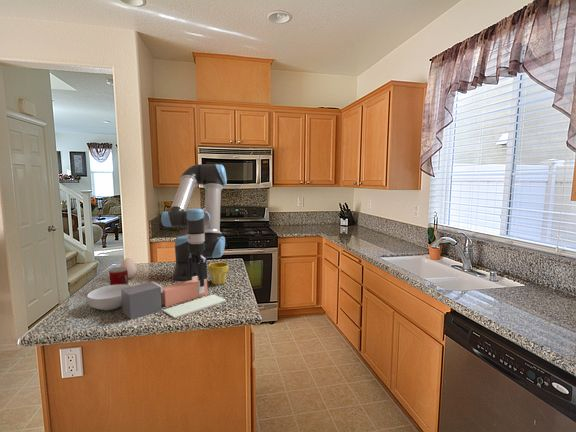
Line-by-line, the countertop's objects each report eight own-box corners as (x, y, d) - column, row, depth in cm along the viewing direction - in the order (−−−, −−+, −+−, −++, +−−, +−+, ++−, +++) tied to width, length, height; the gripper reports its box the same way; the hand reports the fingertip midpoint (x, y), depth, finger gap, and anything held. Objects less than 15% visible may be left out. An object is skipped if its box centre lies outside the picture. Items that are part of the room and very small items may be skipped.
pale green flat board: (213, 295, 144) (213, 294, 144) (226, 301, 137) (226, 299, 137) (163, 311, 127) (163, 309, 127) (174, 318, 120) (174, 317, 120)
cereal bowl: (104, 299, 141) (103, 283, 140) (140, 299, 140) (139, 284, 140) (78, 315, 124) (77, 298, 123) (119, 315, 124) (118, 298, 123)
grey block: (154, 303, 135) (152, 281, 134) (163, 309, 128) (162, 286, 127) (122, 312, 126) (120, 288, 125) (131, 319, 119) (129, 294, 118)
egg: (140, 276, 173) (139, 256, 172) (129, 281, 165) (128, 260, 164) (128, 275, 175) (126, 256, 173) (117, 280, 167) (115, 259, 166)
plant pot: (232, 280, 166) (232, 262, 164) (222, 286, 156) (221, 267, 155) (215, 278, 169) (215, 261, 168) (204, 284, 159) (204, 266, 158)
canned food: (121, 294, 147) (119, 271, 145) (106, 293, 148) (105, 270, 147) (132, 288, 154) (131, 267, 153) (118, 287, 156) (116, 266, 154)
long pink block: (202, 291, 149) (201, 277, 148) (207, 294, 146) (207, 279, 145) (160, 303, 135) (159, 288, 134) (165, 306, 132) (164, 290, 131)
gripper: (179, 240, 146) (181, 288, 149) (199, 246, 133) (201, 298, 136) (193, 238, 151) (195, 284, 154) (214, 243, 139) (215, 294, 141)
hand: (198, 291), depth 145 cm, fingers closed on long pink block, 5 cm apart
